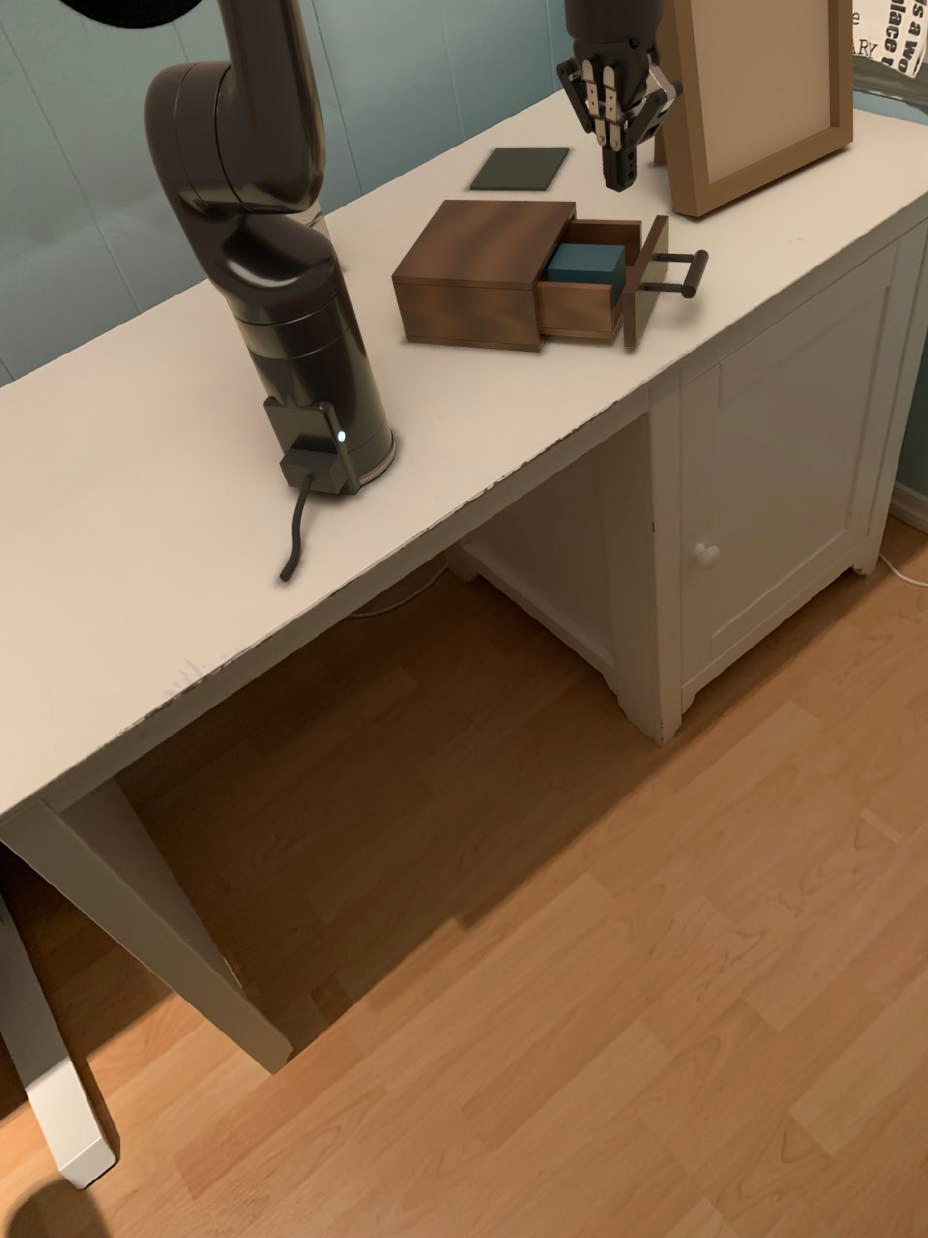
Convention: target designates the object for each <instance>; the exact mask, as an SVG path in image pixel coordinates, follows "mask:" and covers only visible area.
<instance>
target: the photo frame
mask: <svg viewBox="0 0 928 1238" xmlns="http://www.w3.org/2000/svg"><path fill="white" fill-rule="evenodd" d="M853 4H854V1H853V0H664V15H663V18H662V20H661V22H660V24H659V27H658V29H657V33H656V40H657V45H658V48H659V51H660V55H661V62H660V66H659V68H660V70H661V71H662V73H663V74H664V76H665V77H666V79H667V80H668V81H669V83H671V82H673V81H675V80H678V81H680V82H681V84H682V86H683V93H682V95H681V97H680V98H679V100H678V101H677V103H676V104H675V106H674V107H673V109H672V110H671V112H670V113H669V115H668V116H667V118H666V119H665V121H664V122H663V124H662V125H661V127H660V128H659V130H658V131H657V133H656V134H655V136H654V143H653V144H654V147H653V165H660V164H666V166H667V174H668V181H669V182H668V183H669V190H670V197H671V205H672V212H673V213H677V214H682V215H687V216H692V217H698V218H699V217H701V216H702V215H704V214H707V213H709V212H711V211H713V210H715V209H717V208H718V207H721V206H723V205H725V204H727V203H729V202H731V201H733V200H735V199H738V198H739V197H742V196H744V195H745V194H748V193H750V192H753V191H754V190H756V189H758V188H760V187H762V186H764V185H766V184H768V183H771V182H772V181H775V180H777V179H779V178H781V177H783V176H786V175H787V174H790V173H791V172H793V171H796V170H797V169H800V168H802V167H804V166H806V165H808V164H811V163H812V162H814V161H816V160H818V159H820V158H822V157H824V156H826V155H828V154H830V153H832V152H834V151H837V150H839V149H841V148H843V147H845V146H847V145H850V144H852V143H853V142H854V15H853V14H854V13H853V12H854V11H853V10H854V8H853V7H854V6H853Z"/></svg>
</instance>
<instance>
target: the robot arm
mask: <svg viewBox="0 0 928 1238" xmlns="http://www.w3.org/2000/svg"><path fill="white" fill-rule="evenodd" d="M216 4H217V7H218V10H219V13H220V19H221V22H222V25H223V30H224V35H225V39H226V44H227V51H228V55H229V56H228V57H229V59H218V60H203V61H202V60H201V61H188V62H179V63H175V64H171V65H167V66H166V67H164V68H163V69H161V70H159V71H158V72H157V73H156V74H155V75H154V76H153V78H152V79H151V81H150V83H149V85H148V87H147V90H146V92H145V97H144V103H143V129H144V135H145V136H144V137H145V142H146V146H147V150H148V154H149V157H150V161H151V163H152V167H153V169H154V172H155V175H156V177H157V179H158V182H159V185H160V187H161V189H162V191H163V194H164V195H165V197H166V199H167V200H166V201H168V204H169V206H170V208H171V210H172V212H173V214H174V216H175V217H176V219H177V222H178V224H179V226H180V228H181V230H182V232H183V233H184V236H185V237H186V240H187V241H188V243H189V245H190V247H191V249H192V251H193V254H194V256H195V258H196V260H197V262H198V264H199V266H200V268H201V270H202V272H203V274H204V275H205V277H206V278H207V280H208V281H209V283H210V284H211V285H212V287H214V288H215V289H216V290H217V291H218V293H220V294H221V295H222V296H223V297H224V299H225V301H226V302H227V304H228V308H229V309H230V311H231V313H232V316H233V318H234V320H235V323H236V326H237V328H238V330H239V333H240V334H241V337H242V340H243V342H244V345H245V347H246V350H247V351H248V353H249V356H250V359H251V361H252V363H253V365H254V368H255V370H256V372H257V375H258V377H259V380H260V382H261V384H262V386H263V389H264V391H265V393H266V398H265V399H264V400H263V403H262V407H263V410H264V412H265V415H266V417H267V419H268V421H269V423H270V425H271V427H272V430H273V433H274V435H275V437H276V439H277V441H278V444H279V446H280V449H281V451H282V453H283V457H282V458H281V460H280V461H279V463H278V464H279V468H280V469H281V471H282V474H283V476H284V478H285V481H286V482H287V485H288V487H289V488H295V489H296V488H297V489H300V490H299V494H298V497H297V500H296V503H295V506H294V510H293V513H292V514H293V515H292V521H291V545H292V546H291V552H290V556H289V558H288V561H287V563H286V564H285V566H284V567H283V569H282V571H281V572H280V574H279V577H278V578H279V579H281V580H282V581H287V580H288V579H289V577H290V576H291V573H292V572H293V570H294V569H295V567H296V565H297V563H298V560H299V558H300V555H301V548H302V547H301V546H302V544H301V543H302V540H301V522H302V518H303V517H302V516H303V512H304V508H305V505H306V502H307V498H308V495H309V493H310V491H315V492H322V493H329V494H334V495H335V494H336V495H338V494H339V493H343V494H352V495H354V494H356V493H357V492H358V491H359V489H360V488H361V486H363V485H365V484H367V483H369V482H371V481H373V480H374V479H376V478H377V477H378V476H380V475H381V474H382V473H383V472H384V471H385V470H386V469H387V468H388V467H389V466H390V464H391V462H392V461H393V459H394V457H395V455H396V448H397V446H396V440H395V437H394V434H393V431H392V429H391V428H390V424H389V420H388V418H387V414H386V411H385V408H384V405H383V402H382V398H381V395H380V392H379V388H378V384H377V381H376V379H375V375H374V372H373V369H372V365H371V362H370V359H369V355H368V353H367V349H366V345H365V341H364V339H363V335H362V332H361V329H360V326H359V322H358V319H357V316H356V313H355V309H354V306H353V301H352V299H351V296H350V292H349V290H348V286H347V282H346V279H345V276H344V272H343V270H342V266H341V262H340V260H339V256H338V253H337V251H336V249H335V247H334V244H333V242H332V243H331V242H330V241H329V239H328V238H327V237H326V236H324V235H323V234H322V233H320V232H319V231H317V230H315V229H313V228H311V227H308V226H306V225H304V224H302V223H300V222H298V221H296V220H293V219H292V218H290V217H288V216H286V214H297V213H302V212H304V211H306V210H308V209H310V208H311V207H312V206H313V205H314V204H315V202H316V200H317V199H318V200H319V197H320V196H321V192H322V188H323V187H324V182H325V174H326V165H327V154H326V153H327V152H326V149H327V148H326V134H325V124H324V117H323V112H322V111H323V110H322V106H321V100H320V95H319V90H318V85H317V81H316V80H317V79H316V76H315V70H314V66H313V61H312V56H311V52H310V48H309V43H308V37H307V33H306V28H305V23H304V19H303V14H302V10H301V9H302V8H301V5H300V0H216ZM563 4H564V16H565V17H564V18H565V28H566V32H567V33H568V35H569V36H570V37H571V38H572V39H573V44H572V50H573V53H571V55H570V57H569V58H567V59H565V60H564V61H561V62H559V63H558V64H557V65H556V67H555V71H556V75H557V77H558V79H559V81H560V83H561V86H562V88H563V90H564V92H565V94H566V96H567V98H568V100H569V103H570V104H571V106H572V109H573V110H574V113H575V115H576V117H577V119H578V121H579V123H580V125H581V127H582V129H583V131H584V132H585V133H586V134H587V135H589V134H592V133H593V134H594V135H595V136H596V142H597V144H598V145H599V146H600V147H601V155H602V156H601V159H602V174H603V177H604V181H605V187H606V188H607V189H609V190H612V191H614V192H616V193H619V194H620V193H622V192H624V191H625V190H627V189H629V188H631V187H632V186H633V185H634V184H635V182H636V181H637V178H638V146H640V145H641V144H643V143H645V142H647V141H649V140H651V139H652V138H655V134H656V133H657V131H658V130H659V128H660V127H661V125H662V124H663V122H664V121H665V119H666V118H667V116H668V115H669V113H670V112H671V110H672V109H673V107H674V106H675V104H676V103H677V101H678V100H679V98H680V97H681V95H682V93H683V86H682V84H681V82H680V81H678V80H675V81H673V82H671V83H669V81H668V80H667V79H666V77H665V76H664V74H663V73H662V71H661V70H660V68H659V66H660V62H661V55H660V51H659V48H658V45H657V40H656V33H657V29H658V27H659V24H660V22H661V20H662V18H663V15H664V0H563ZM587 103H588V104H587ZM332 244H333V245H332Z"/></svg>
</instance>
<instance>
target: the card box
mask: <svg viewBox="0 0 928 1238" xmlns="http://www.w3.org/2000/svg"><path fill="white" fill-rule="evenodd" d="M547 270H548V280H549V282H564V283H584V284H605V285H612V296H613V308H615V306H616V303H617V301H618V299H619V297H620V294H621V292H622V290H623V288H624V285H625V283H626V273H625V246H621V245H591V244H560V246H559V248H558V250H557V251H556V253H555V255H554V257H553V259H552V261H551V263H550V264H549V266H548V268H547Z"/></svg>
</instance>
